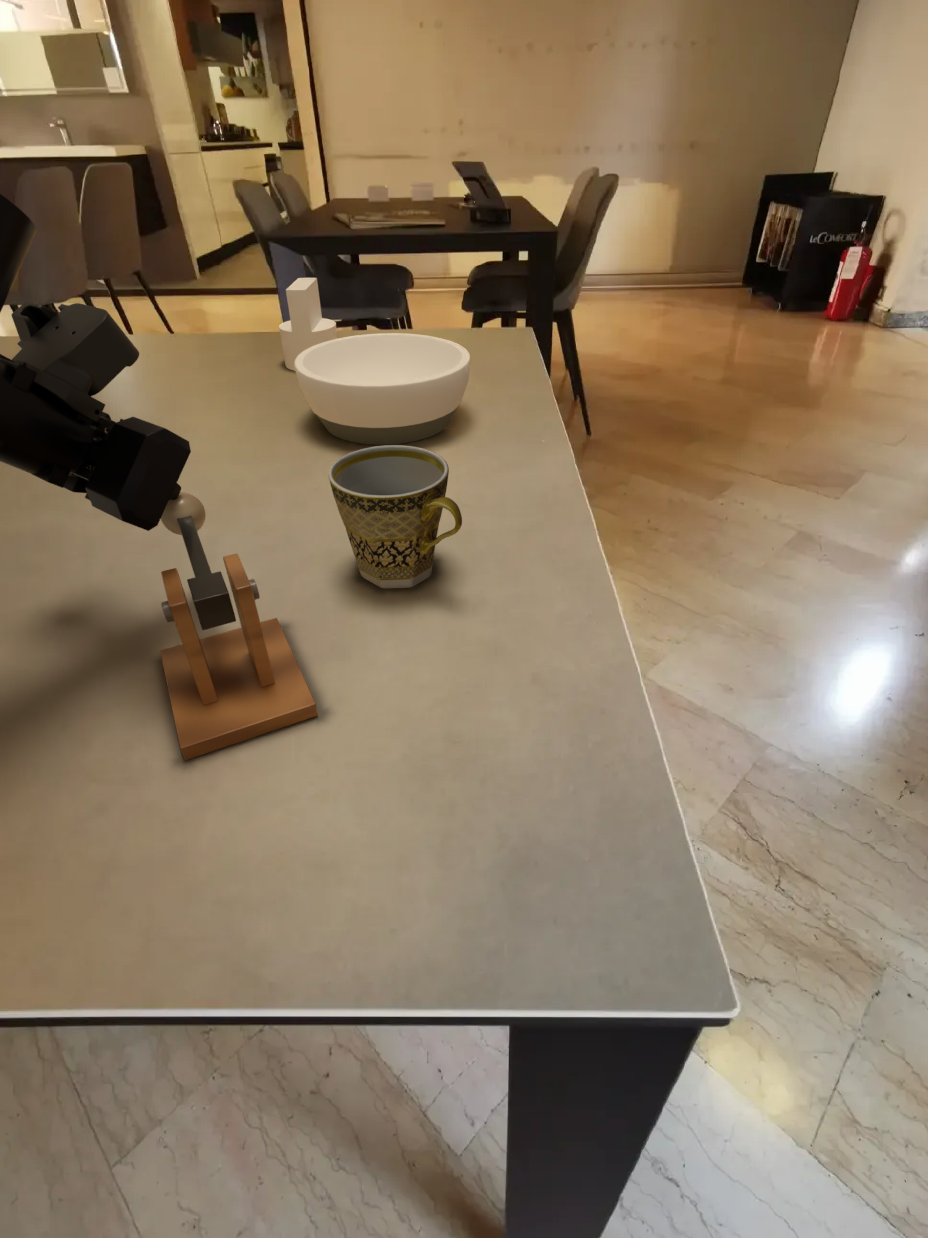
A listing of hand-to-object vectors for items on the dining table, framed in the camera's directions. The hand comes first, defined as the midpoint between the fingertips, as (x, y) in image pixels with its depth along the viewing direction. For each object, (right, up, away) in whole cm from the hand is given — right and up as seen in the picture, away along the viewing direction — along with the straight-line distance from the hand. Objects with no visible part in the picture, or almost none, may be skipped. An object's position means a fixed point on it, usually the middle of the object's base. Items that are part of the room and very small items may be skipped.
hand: (176, 492), depth 52 cm
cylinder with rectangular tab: (-2, +32, +58) cm, 67 cm away
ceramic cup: (+17, -6, +9) cm, 20 cm away
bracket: (+6, -15, -3) cm, 16 cm away
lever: (+3, -6, -2) cm, 7 cm away
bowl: (+12, +17, +38) cm, 44 cm away
